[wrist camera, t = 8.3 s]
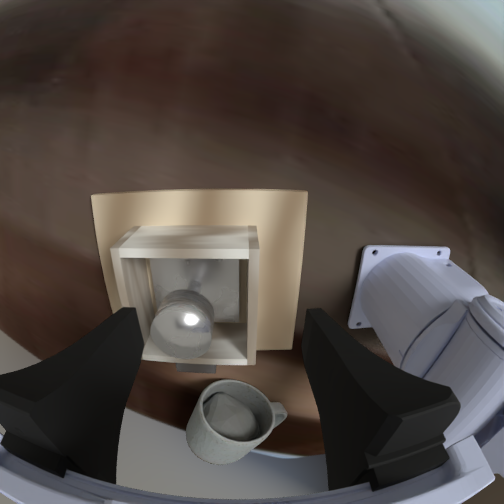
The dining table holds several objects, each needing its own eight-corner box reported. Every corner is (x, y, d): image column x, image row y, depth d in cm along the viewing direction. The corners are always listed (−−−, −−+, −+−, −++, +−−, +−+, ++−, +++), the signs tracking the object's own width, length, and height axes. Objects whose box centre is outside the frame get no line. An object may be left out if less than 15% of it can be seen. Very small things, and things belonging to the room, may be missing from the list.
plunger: (239, 242, 20) (237, 288, 14) (239, 318, 23) (238, 377, 17) (149, 242, 20) (116, 285, 14) (160, 316, 23) (139, 370, 17)
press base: (305, 190, 20) (324, 207, 15) (290, 345, 25) (298, 384, 20) (94, 194, 19) (59, 211, 15) (123, 339, 25) (106, 374, 20)
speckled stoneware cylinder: (186, 411, 29) (179, 465, 22) (202, 370, 26) (195, 434, 19) (268, 426, 31) (274, 477, 24) (298, 390, 28) (310, 448, 21)
